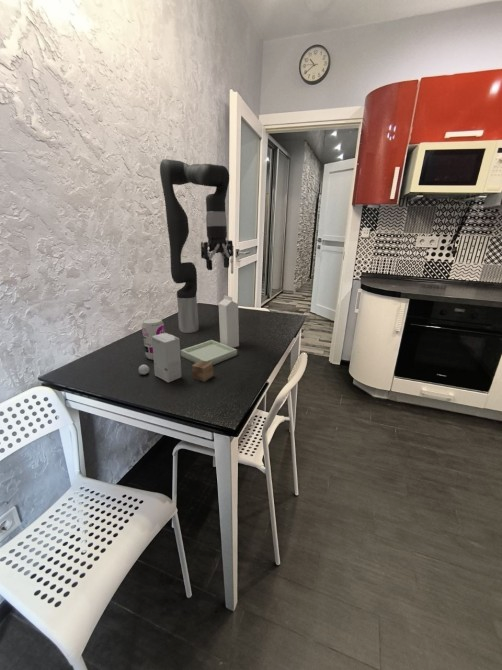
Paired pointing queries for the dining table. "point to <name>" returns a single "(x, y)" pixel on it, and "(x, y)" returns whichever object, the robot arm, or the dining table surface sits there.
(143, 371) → the white egg
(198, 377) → the walnut block
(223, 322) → the milk
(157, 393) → the dining table surface
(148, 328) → the supplement can
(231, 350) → the tray
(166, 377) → the skincare box
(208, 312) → the dining table surface
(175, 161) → the robot arm
